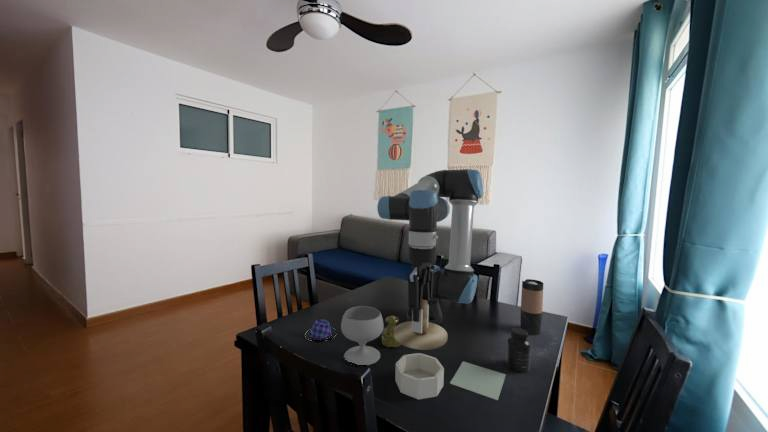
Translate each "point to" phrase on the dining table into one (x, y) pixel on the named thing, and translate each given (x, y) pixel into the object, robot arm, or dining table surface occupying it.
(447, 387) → the dining table surface
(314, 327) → the purple plaid hat
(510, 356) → the supplement bottle
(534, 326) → the travel mug
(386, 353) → the dining table surface
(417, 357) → the bowl
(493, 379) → the mat
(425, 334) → the lid
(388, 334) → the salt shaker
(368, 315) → the chalice
